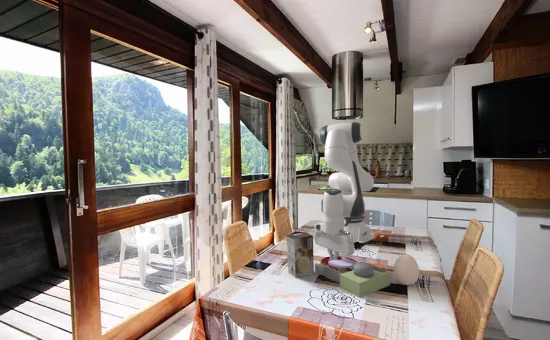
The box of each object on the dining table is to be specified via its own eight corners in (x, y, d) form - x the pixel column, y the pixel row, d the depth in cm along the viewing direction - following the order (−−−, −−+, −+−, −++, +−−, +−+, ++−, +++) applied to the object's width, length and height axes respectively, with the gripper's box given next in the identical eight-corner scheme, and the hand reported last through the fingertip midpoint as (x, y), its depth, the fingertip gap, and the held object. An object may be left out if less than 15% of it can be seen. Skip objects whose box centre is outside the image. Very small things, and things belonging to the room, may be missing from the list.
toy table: (356, 275, 118) (356, 261, 117) (348, 283, 110) (348, 268, 110) (333, 270, 123) (333, 257, 123) (324, 277, 116) (324, 263, 116)
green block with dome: (370, 276, 116) (370, 257, 116) (390, 285, 108) (390, 264, 108) (340, 287, 107) (339, 266, 106) (359, 297, 99) (359, 274, 99)
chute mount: (343, 264, 130) (343, 255, 129) (371, 276, 116) (371, 266, 116) (314, 273, 120) (314, 263, 120) (342, 286, 107) (342, 276, 107)
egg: (390, 279, 113) (390, 250, 113) (412, 279, 113) (413, 250, 113) (399, 289, 105) (399, 258, 104) (423, 289, 104) (423, 258, 104)
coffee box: (305, 268, 126) (305, 231, 125) (314, 273, 120) (313, 235, 119) (287, 272, 121) (286, 234, 121) (295, 278, 116) (294, 238, 115)
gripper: (358, 231, 116) (358, 265, 116) (322, 222, 133) (322, 252, 133) (347, 234, 112) (347, 269, 113) (312, 224, 129) (312, 254, 130)
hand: (333, 260), depth 123 cm, fingers closed
